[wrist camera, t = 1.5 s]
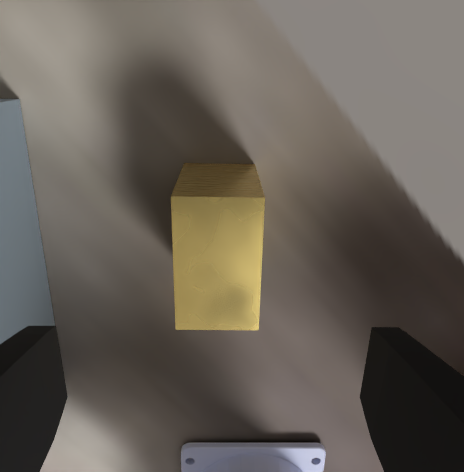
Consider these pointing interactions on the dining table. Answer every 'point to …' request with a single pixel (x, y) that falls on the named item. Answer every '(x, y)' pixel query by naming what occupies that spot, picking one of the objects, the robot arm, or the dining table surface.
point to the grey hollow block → (19, 233)
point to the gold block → (217, 246)
